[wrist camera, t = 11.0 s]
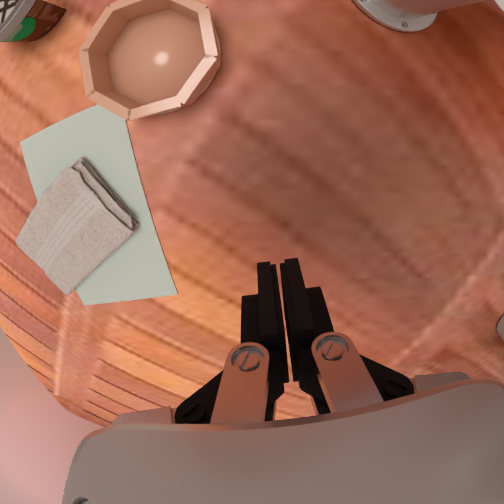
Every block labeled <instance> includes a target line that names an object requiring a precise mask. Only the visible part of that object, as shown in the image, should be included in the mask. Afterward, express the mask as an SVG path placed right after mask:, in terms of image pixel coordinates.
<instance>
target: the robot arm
mask: <svg viewBox="0 0 504 504" xmlns="http://www.w3.org/2000/svg"><path fill="white" fill-rule="evenodd" d="M484 1H489V0H361V1H360V0H353V2H354V3H355V4H356V5H357V6H358V7H359V8H360V9H361V10H362V11H363V12H364V13H365V14H366V15H368V16H369V17H370V18H372V19H373V20H375V21H376V22H378V23H380V24H381V25H383V26H385V27H388V28H390V29H393V30H396V31H402V32H415V31H420V30H423V29H426V28H427V27H429V26H430V25H431V24H432V23H433V22H434V20H435V18H436V16H437V12H440V11H443V10H447V9H451V8H455V7H459V6H464V5H468V4H473V3H478V2H484ZM284 261H285V263H280V271H281V281H282V292H283V302H284V313H285V321H286V328H287V336H288V343H289V351H290V358H291V366H292V374H293V381H294V382H296V381H299V386H300V388H301V390H302V391H304V392H306V393H307V394H309V395H310V398H311V402H312V405H313V407H314V410H315V413H316V416H309V417H302V418H294V419H286V420H276V421H275V414H276V400H277V399H278V398H279V397H280V396H281V395H282V394H283V393H284V383H287V382H289V374H288V362H287V351H286V339H285V330H284V322H283V314H282V307H281V299H280V292H279V285H278V277H277V270H276V264H272V265H270V261H268V262H260V263H257V274H258V294H256V295H247V296H242V305H241V344H239V345H237V346H235V347H234V348H232V350H231V351H230V352H229V353H228V355H227V358H226V362H225V366H224V370H223V371H222V372H220V373H219V374H218V375H217V376H215V377H214V378H213V379H212V380H210V381H209V382H208V383H207V384H205V385H204V386H203V387H202V388H200V389H199V390H198V391H196V392H195V393H194V394H193V395H191V396H190V397H189V398H187V399H186V400H185V401H183V402H182V403H181V404H180V405H179V406H178V407H177V408H171V407H170V406H169V407H163V408H157V409H151V410H144V411H137V412H130V413H124V414H121V415H119V416H118V417H116V418H115V420H114V421H113V423H112V426H107V427H104V428H101V429H98V430H95V431H93V432H91V433H90V434H88V435H87V436H86V437H85V438H84V439H83V440H82V441H81V443H80V444H79V446H78V448H77V450H76V452H75V455H74V457H73V460H72V463H71V466H70V469H69V473H68V477H67V481H66V485H65V489H64V494H63V500H62V504H504V385H503V384H501V383H499V382H497V381H493V380H488V379H471V378H470V377H469V376H468V375H467V374H465V373H463V372H450V373H440V374H429V375H415V377H414V378H408V377H406V376H405V375H403V374H401V373H399V372H396V371H394V370H392V369H390V368H388V367H385V366H383V365H381V364H379V363H377V362H375V361H373V360H370V359H368V358H366V357H364V356H362V355H360V354H359V353H358V351H357V349H356V348H355V346H354V344H353V342H352V341H351V339H350V338H349V337H348V336H346V335H344V334H342V333H339V332H334V330H333V326H332V323H331V319H330V316H329V313H328V309H327V306H326V303H325V300H324V296H323V293H322V290H321V288H320V286H319V287H312V288H305V284H304V281H303V277H302V273H301V269H300V265H299V261H298V258H292V259H285V260H284Z"/></svg>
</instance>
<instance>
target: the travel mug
mask: <svg viewBox="0 0 504 504" xmlns="http://www.w3.org/2000/svg"><path fill="white" fill-rule="evenodd" d="M496 331H497V332H498V334H499V335H500V336H501V338H502V339H503V341H504V315H503V316H502V317H501V319H500V320H499V322H498V325H497V328H496Z"/></svg>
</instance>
